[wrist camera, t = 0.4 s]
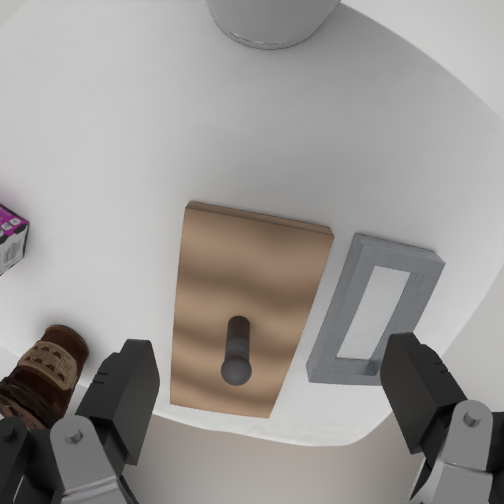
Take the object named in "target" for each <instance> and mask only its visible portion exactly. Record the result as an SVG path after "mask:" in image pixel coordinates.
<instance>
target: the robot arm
mask: <svg viewBox="0 0 504 504" xmlns="http://www.w3.org/2000/svg"><path fill="white" fill-rule="evenodd" d="M205 1H206V3H207V6H208V8H209V10H210V13H211V15H212V17H213V19H214V20H215V22H216V24H217V25H218V27H219V28H220V29H221V30H222V31H223V32H224V33H225V34H226V35H228V36H229V37H231V38H232V39H233V40H235V41H237V42H240V43H242V44H244V45H247V46H251V47H254V48H261V49H280V48H285V47H289V46H293V45H295V44H298V43H300V42H302V41H304V40H305V39H307V38H308V37H309V36H311V35H312V34H313V33H314V32H315V31H316V30H317V28H318V27H319V26H320V25H321V24H322V22H323V21H324V20H325V19H326V18H327V17H328V16H329V14H330V13H331V12H332V11H333V10H334V8H335V7H336V6H337V5H338V4H339V2H340V1H341V0H205ZM380 380H381V384H382V387H383V389H384V391H385V393H386V396H387V398H388V400H389V403H390V405H391V407H392V410H393V412H394V414H395V417H396V419H397V421H398V424H399V426H400V429H401V431H402V433H403V436H404V438H405V441H406V443H407V446H408V448H409V451H410V453H411V454H416V453H420V452H424V455H425V458H424V459H423V461H422V463H421V466H420V469H419V471H418V474H417V477H416V479H415V481H414V484H413V486H412V488H411V491H410V493H409V495H408V497H407V499H406V502H405V504H487V503H488V502H489V504H504V412H491V411H490V409H489V408H488V407H487V406H486V405H484V404H483V403H481V402H479V401H475V400H468V399H467V398H466V396H465V395H464V393H463V391H462V390H461V388H460V387H459V385H458V384H457V382H456V381H455V379H454V378H453V376H452V375H451V373H450V372H448V369H447V367H446V366H445V365H444V364H443V363H442V360H441V359H440V357H439V356H438V354H437V353H436V352H435V351H434V350H432V349H431V348H430V347H428V346H427V345H425V344H422V345H421V344H420V342H419V341H418V339H417V338H416V336H415V335H414V334H413V333H412V332H404V333H396V334H391V335H390V336H389V338H388V342H387V346H386V350H385V353H384V357H383V361H382V365H381V368H380ZM92 381H93V382H92V383H91V384H90V386H89V388H88V390H87V392H86V394H85V395H84V397H83V399H82V401H81V403H80V405H79V407H78V409H77V411H76V413H75V414H74V415H71V416H66V417H64V418H62V419H60V420H59V421H57V422H56V423H55V424H54V426H53V427H52V429H29V428H28V427H27V425H26V424H25V422H24V421H23V420H22V419H20V418H18V417H6V418H4V419H2V420H0V504H13V499H14V495H15V493H16V490H17V488H18V485H19V483H20V480H21V478H22V477H23V480H22V483H21V485H20V488H19V490H18V493H17V496H16V498H15V501H14V504H60V502H61V499H62V501H63V504H139V502H138V500H137V499H136V497H135V496H134V494H133V492H132V490H131V488H130V486H129V484H128V483H127V481H126V479H125V477H124V475H123V473H122V471H123V468H124V465H125V464H130V465H136V466H137V462H138V459H139V455H140V452H141V448H142V445H143V441H144V438H145V435H146V431H147V428H148V424H149V421H150V418H151V414H152V411H153V408H154V405H155V401H156V398H157V395H158V392H159V386H160V378H159V372H158V368H157V364H156V360H155V356H154V352H153V348H152V344H151V342H150V341H149V340H137V339H127V340H126V342H125V344H124V345H123V347H122V349H121V351H120V353H115V352H114V353H112V354H111V355H110V356H109V357H108V358H106V359H105V360H104V361H103V362H102V364H101V366H100V368H99V369H98V371H97V374H96V375H95V377H94V379H93V380H92ZM64 491H66V495H63V492H64Z"/></svg>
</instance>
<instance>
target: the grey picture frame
mask: <svg viewBox="0 0 504 504" xmlns="http://www.w3.org/2000/svg"><path fill="white" fill-rule="evenodd" d="M374 265H375V266H380V267H386V268H391V269H396V270H401V271H406V272H411V275H410V277H409V279H408V282H407V284H406V286H405V289H404V291H403V293H402V296H401V298H400V300H399V302H398V304H397V307H396V309H395V311H394V313H393V315H392V317H391V319H390V321H389V323H388V326H387V328H386V330H385V332H384V334H383V336H382V338H381V340H380V341H379V343H378V345H377V347H376V349H375V351H374V353H373V355H372V357H371V359H370V360H357V359H343V358H336V356H337V354H338V351H339V349H340V347H341V345H342V343H343V341H344V338H345V336H346V334H347V332H348V329H349V327H350V325H351V322H352V320H353V318H354V316H355V313H356V311H357V308H358V306H359V304H360V301H361V299H362V296H363V294H364V291H365V289H366V286H367V284H368V281H369V279H370V276H371V273H372V271H373V268H374ZM444 265H445V262H444V261H443V260H442V259H441V258H440V257H439V256H438V255H437V254H435V253H434V252H433V251H430V250H426V249H422V248H417V247H413V246H409V245H405V244H401V243H396V242H392V241H388V240H383V239H379V238H374V237H370V236H365V235H361V234H356V233H355V235H354V238H353V241H352V244H351V247H350V250H349V253H348V256H347V259H346V262H345V265H344V268H343V271H342V274H341V277H340V279H339V282H338V285H337V288H336V291H335V293H334V296H333V299H332V301H331V304H330V307H329V309H328V312H327V315H326V317H325V320H324V323H323V325H322V328H321V330H320V333H319V335H318V338H317V340H316V343H315V345H314V348H313V350H312V352H311V355H310V357H309V360H308V362H307V364H306V369H307V374H308V380H309V382H312V383H326V384H344V385H372V386H382V384H381V380H380V368H381V365H382V361H383V357H384V353H385V350H386V346H387V342H388V338H389V336H390V335H391V334H396V333H404V332H412V333H413V331H414V329H415V327H416V325H417V323H418V321H419V319H420V317H421V315H422V313H423V311H424V309H425V307H426V305H427V303H428V301H429V299H430V297H431V295H432V293H433V290H434V288H435V286H436V284H437V282H438V279H439V277H440V275H441V272H442V270H443V268H444Z"/></svg>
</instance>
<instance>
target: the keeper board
mask: <svg viewBox="0 0 504 504" xmlns="http://www.w3.org/2000/svg"><path fill="white" fill-rule="evenodd" d="M333 239H334V235H333V233H332V232H331V230H330V228H328V227H323V226H319V225H314V224H309V223H304V222H299V221H294V220H289V219H284V218H279V217H274V216H268V215H263V214H258V213H252V212H247V211H242V210H236V209H231V208H225V207H220V206H214V205H208V204H202V203H197V202H191V201H190V202H189V203H188V205H187V206H186V208H185V214H184V222H183V230H182V239H181V248H180V257H179V267H178V277H177V288H176V300H175V313H174V327H173V342H172V361H171V384H170V404H173V405H178V406H183V407H188V408H194V409H200V410H206V411H212V412H219V413H226V414H233V415H241V416H249V417H259V418H269V416H270V414H271V412H272V409H273V407H274V404H275V402H276V399H277V397H278V395H279V392H280V390H281V387H282V385H283V382H284V380H285V377H286V374H287V372H288V369H289V367H290V364H291V362H292V359H293V356H294V354H295V351H296V348H297V346H298V343H299V340H300V338H301V335H302V332H303V329H304V327H305V324H306V321H307V318H308V315H309V312H310V310H311V307H312V304H313V301H314V298H315V295H316V292H317V289H318V286H319V283H320V280H321V277H322V274H323V271H324V268H325V265H326V262H327V258H328V255H329V252H330V249H331V246H332V242H333Z"/></svg>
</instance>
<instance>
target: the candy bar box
mask: <svg viewBox="0 0 504 504" xmlns="http://www.w3.org/2000/svg"><path fill="white" fill-rule="evenodd" d="M27 232H28V222H26V221H25V220H23V219H21V218H20V217H18V216H17V215H15V214H13V213H12V212H10V211H9V210H7V209H6V208H4V207H2V206H1V205H0V276H1V275H2V274H3V273H5V272H6V271H7V270H8V269H10V268H11V267H12V266H13V265H15V264H16V263H17V262H18V261H20V260H21V259H22V258H23V255H24V248H25V241H26V236H27Z"/></svg>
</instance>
